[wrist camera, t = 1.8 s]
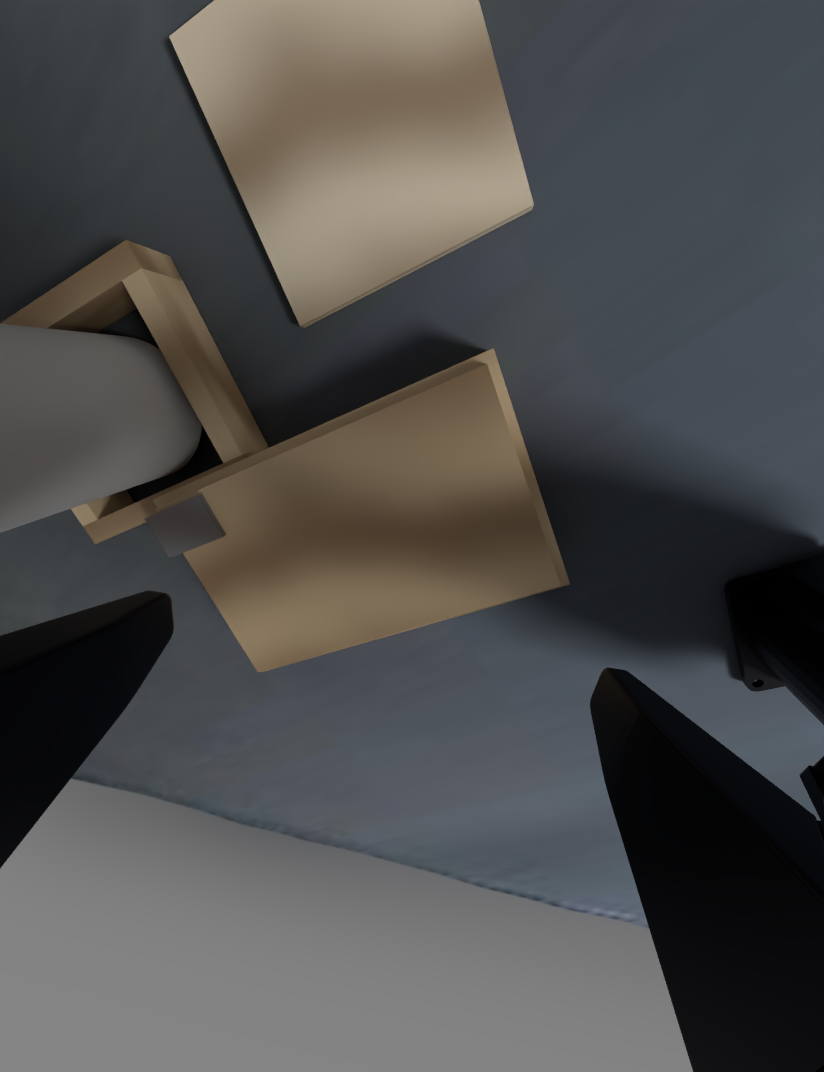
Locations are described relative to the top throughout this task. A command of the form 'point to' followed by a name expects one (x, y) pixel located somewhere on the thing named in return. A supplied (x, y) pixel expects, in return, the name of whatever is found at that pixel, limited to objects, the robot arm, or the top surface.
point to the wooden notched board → (325, 488)
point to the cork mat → (356, 135)
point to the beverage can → (84, 420)
